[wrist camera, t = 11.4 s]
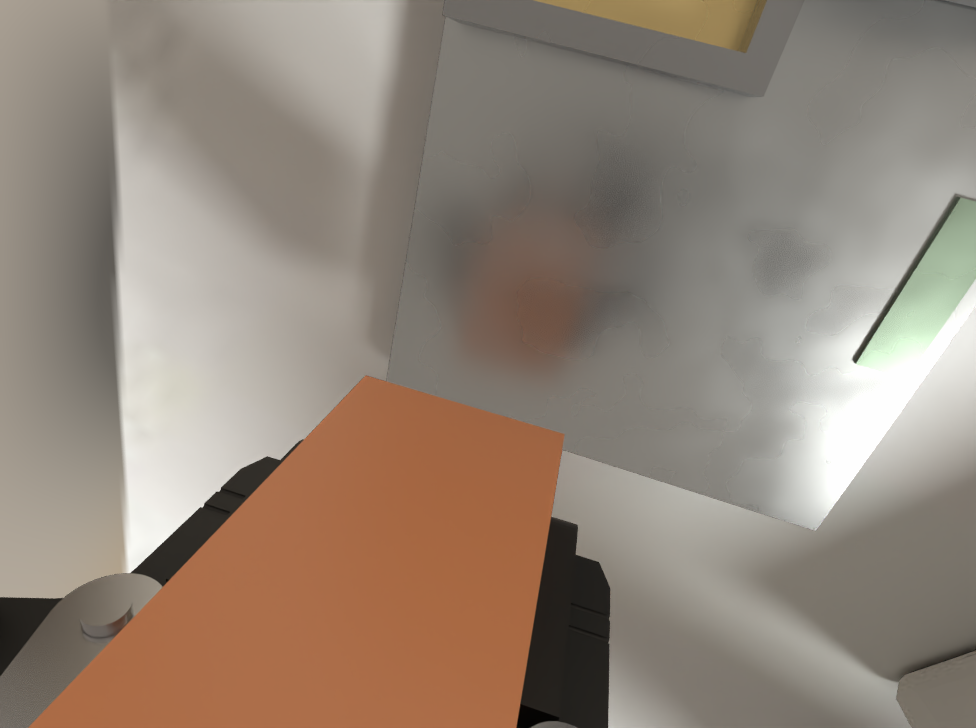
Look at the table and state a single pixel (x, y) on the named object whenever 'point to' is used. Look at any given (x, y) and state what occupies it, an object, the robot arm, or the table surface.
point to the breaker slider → (965, 2)
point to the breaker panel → (696, 231)
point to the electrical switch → (941, 694)
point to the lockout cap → (350, 584)
